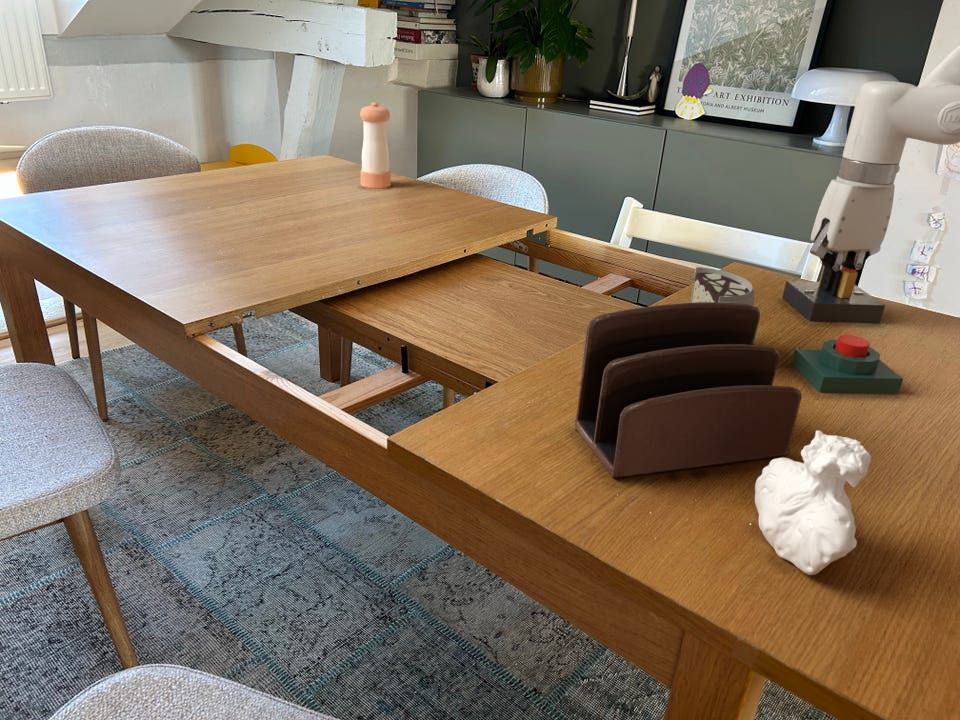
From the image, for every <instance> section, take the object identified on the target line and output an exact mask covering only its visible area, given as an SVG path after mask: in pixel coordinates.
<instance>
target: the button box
mask: <svg viewBox="0 0 960 720" xmlns="http://www.w3.org/2000/svg"><path fill="white" fill-rule="evenodd" d="M837 340H838V339H829V340H826V341H824V342H823V343H822V346H821V349H805V348H804V349H803V348H795V349H794V353H793V356H792V360H791V365H792V366H793V368H795V369H796V370H797V372H798V373H800V375H801V376H802V377H804V379H805V380H806V381H808V383H810V385H811V386H812V387H813V388H814V389H815V390H816V391H817V392H818V393H819V394H823V393H824V394H826V393H827V394H828V393H829V394H864V395H865V394H867V395H868V394H871V395H898V394H899V393H900V389H901V387H902V384H903V381H904V378H903V377H902V376H901V375H900V374H898V373H897V372H895V371H894V370H893V369H892V368H890V367H889V366H888V365H887V364H885V363H884V362H883V361H882V360H880V359H881V355H880V353H879V352H878V351H877V350H875V349H874V348H873V347H871V346H869V349H868V352H867V355H866V357H865V358H856V357H851V356H846V355H843V354H841V353H839V352H837V351H836V350H835V347H836V344H837Z"/></svg>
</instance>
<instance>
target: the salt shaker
mask: <svg viewBox="0 0 960 720" xmlns="http://www.w3.org/2000/svg"><path fill="white" fill-rule="evenodd" d="M359 116H360V119H361V120H362V121H363V140H362V141H363V143H362V149H361V151H362V152H361V169H360V186H361V187H364V188H368V189H385V188H390V187H391V186H392V185H391V184H392V182H391V181H392V177H391V176H392V173H391V172H392V171H391V169H390V152H389V145H388V129H387V127H388V126H387V125H388V124H387V122H388V121H389V120H390V117H391V114H390V111H389V109H388V108H387V107H385V106H382V105H379V103H378V102H376V101H373V102H371V105H366V106H364V107H362V108H361V110H360V112H359Z"/></svg>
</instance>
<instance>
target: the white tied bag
mask: <svg viewBox="0 0 960 720" xmlns="http://www.w3.org/2000/svg"><path fill="white" fill-rule="evenodd" d="M800 455H801V458H802V461H803V462H801V461H797V460H794V459H791V458H789V457H776V458H774V459H772V460H770V461H769V464H768V465H766V466H765V467H763V468H762V470H761V475H759V476H758V477H757V478H756V481H755V484H754V493H755V494H754V504H755V507H756V510H757V513H758V527H759V530H760V531H761V533H762V535H763V537H764V539H765V540H766V541H767V542H768V544H769V545H771V547H772V548H773V549H774V551H775V553H776V554H777V556H778V557H779V558H781V559H783V560H785V561H787V562H790V563H792V564H793V565H794V566H795V567H796V568H797V569H799V570H800V571H801V572H803V573H804V574H806V575H808V576H815V575H817V574H819V573H820V572H821V571H823V570H824V569H825V568H826V567H827V566H829V565H830V564H832V563H833V562H835V561H837V560H839V559H841V558H843V557H846V556H847V554H849V553H850V552H852V551H853V550H854V549H855V548H856V547H857V545H858V541H857V539H856V538H855V535H856V532H857V529H856V524H855V516H854V514H853V512H852V507H851V506H852V504H851V500H850V499H849V497H848V495H847V494H846V491H845V485H846V483H848V484H849V485H850V486H851V487H852V488H856V487H857V486H858V484H859V482H860V481H861V480H862V479H863V478H864V477H865V476H867V474H868V470H869V466H870V465H871V462H872V456H871V454H870V453H869V451H867V449H866V448H865V447H864V446H863V445H862V444H861V441H858V440H857V439H853V438H851V437H845V436H840V435H833V434H832V435H829V434H825V433H823V431H821V430H819V429H818V430H815V433H814V438H813V439H812V440H811V441H810V443H809V444H807V445H804V446H803V449H801V451H800Z"/></svg>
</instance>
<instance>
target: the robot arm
mask: <svg viewBox="0 0 960 720" xmlns="http://www.w3.org/2000/svg"><path fill="white" fill-rule="evenodd" d="M907 139H913V140H917V141H922V142H926V143H930V144H935V145H942V146H949V145H956V144H960V44H959V45H958V46H956V47H955V48H954V49H953V50H952V51H951V52H950V53H949V54H948V55H947V56H945V58H944V59H942V60H941V61H940V63H939V64H937V66H936V67H935V68H933V70H931V72H930V73H928V75H927V76H926V77H924V78H923V80H922V81H921V82H920V83H918V85H915V84H911V83H908V82H899V81H889V80H871V81H867V82H866V83H864V84H863V85H862V86H860V89H859V90H858V93H857V97H856V102H855V105H854V109H853V113H852V117H851V121H850V125H849V128H848V132H847V136H846V141H845V144H844V148H843V151H842V156H841V159H840V163H839V167H838V171H837V175H836V178H834V179H831V181H830V182H829V185H828V186H827V188H826V190H825V193H824V195H823V197H822V200H821V202H820V205H819V207H818V211H817V213H816V217H815V218H814V222H813V226H812V230H811V235H810V242H811V243H812V246H811V248H809V249H810V250H809V253H810V254H811V255H813V256H815V257H818V258H819V260H820V262H821V266H824V270H823V269H822V270H823V274H822V273H821V274H822V278H821V277H820V278H821V281H820V280H819V281H820V285H819V290H820V291H822V292H824V293H826V294H828V295H830V296H835V295H836V294H837V291H838V287H839V283H840V280H841V276H842V271H840V268H841V266H843V267H846V268H848V269H853V270H856V271H859V270H861V269H862V267H863V263H864V262H865V261H866V260H867V259H869V257H871V256H873V255H875V254H877V253H879V252H880V251H881V245H882V244H883V242H884V239H885V236H886V234H887V230H888V228H889V224H890V220H891V215H892V210H893V205H894V197H895V189H896V188H895V187H896V186H895V185H896V184H894V183H895V180H896V177H897V173H899V172H900V169H901V167H900V163H901V158H902V156H903V152H904V149H905V146H906V142H907ZM833 254H834V255H833Z"/></svg>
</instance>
